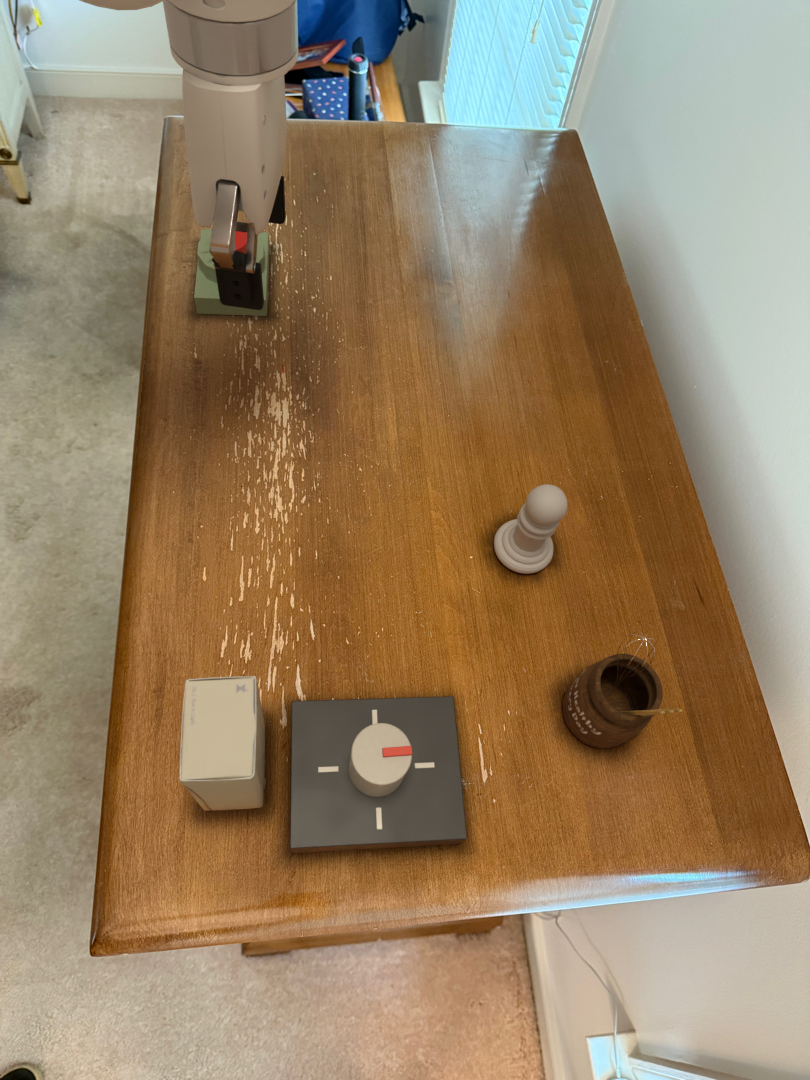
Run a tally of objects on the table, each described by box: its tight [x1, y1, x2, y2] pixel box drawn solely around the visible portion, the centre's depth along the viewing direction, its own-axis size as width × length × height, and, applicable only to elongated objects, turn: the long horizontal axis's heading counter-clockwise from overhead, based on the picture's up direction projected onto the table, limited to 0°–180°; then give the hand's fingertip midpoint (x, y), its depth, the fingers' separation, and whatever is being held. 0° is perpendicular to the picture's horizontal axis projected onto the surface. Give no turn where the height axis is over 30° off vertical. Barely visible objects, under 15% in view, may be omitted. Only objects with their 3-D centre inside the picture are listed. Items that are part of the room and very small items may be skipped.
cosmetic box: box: [178, 675, 266, 812], centre depth 48 cm, size 6×4×12 cm
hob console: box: [289, 695, 468, 854], centre depth 53 cm, size 12×10×3 cm
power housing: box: [193, 228, 271, 317], centre depth 75 cm, size 7×10×4 cm
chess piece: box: [493, 483, 569, 575], centre depth 61 cm, size 5×5×9 cm
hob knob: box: [349, 723, 412, 797], centre depth 50 cm, size 4×4×5 cm
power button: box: [235, 231, 247, 254], centre depth 73 cm, size 4×4×2 cm
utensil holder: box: [562, 630, 684, 749], centre depth 53 cm, size 6×6×12 cm
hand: (254, 260), depth 58 cm, fingers open, 9 cm apart
